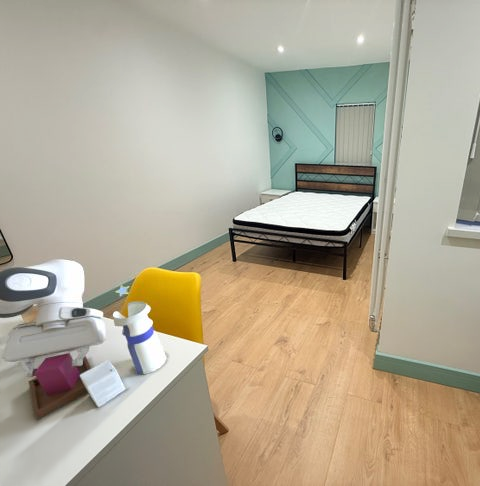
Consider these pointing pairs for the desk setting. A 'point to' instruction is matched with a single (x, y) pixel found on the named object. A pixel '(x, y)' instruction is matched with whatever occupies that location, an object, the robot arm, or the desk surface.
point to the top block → (57, 374)
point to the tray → (50, 403)
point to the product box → (102, 382)
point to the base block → (30, 314)
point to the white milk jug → (140, 336)
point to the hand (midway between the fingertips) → (54, 371)
